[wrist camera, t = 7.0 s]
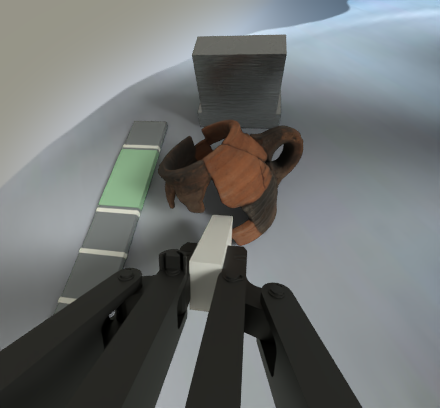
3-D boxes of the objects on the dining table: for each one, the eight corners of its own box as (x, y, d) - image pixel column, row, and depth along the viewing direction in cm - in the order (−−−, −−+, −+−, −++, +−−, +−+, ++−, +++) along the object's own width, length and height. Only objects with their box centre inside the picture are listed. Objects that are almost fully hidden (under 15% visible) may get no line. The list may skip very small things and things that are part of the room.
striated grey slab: (278, 128, 25) (292, 53, 18) (200, 126, 26) (186, 55, 19) (277, 99, 28) (290, 23, 21) (206, 98, 29) (195, 25, 22)
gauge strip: (102, 335, 17) (96, 335, 16) (53, 328, 17) (46, 328, 17) (168, 125, 27) (166, 121, 26) (136, 124, 27) (133, 120, 27)
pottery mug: (214, 275, 18) (149, 205, 13) (192, 214, 26) (146, 156, 21) (341, 194, 18) (320, 94, 13) (280, 158, 26) (253, 87, 21)
